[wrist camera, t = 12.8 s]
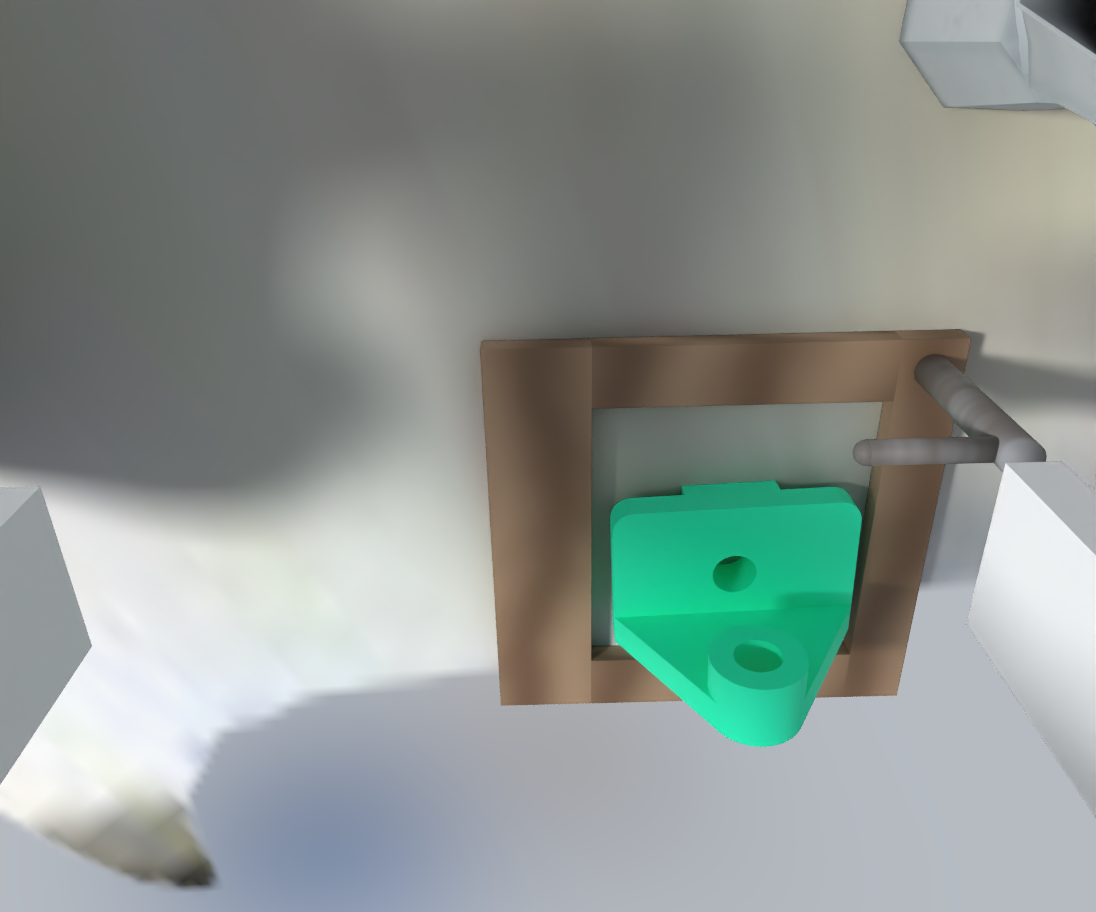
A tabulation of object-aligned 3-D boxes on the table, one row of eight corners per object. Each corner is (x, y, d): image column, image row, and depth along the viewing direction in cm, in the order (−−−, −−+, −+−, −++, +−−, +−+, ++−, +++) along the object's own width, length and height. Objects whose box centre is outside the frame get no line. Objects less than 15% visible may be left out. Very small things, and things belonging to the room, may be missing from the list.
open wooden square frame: (501, 690, 51) (495, 838, 43) (481, 340, 42) (467, 438, 33) (889, 680, 51) (963, 826, 43) (959, 329, 42) (1074, 423, 33)
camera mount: (847, 474, 45) (925, 598, 36) (833, 598, 49) (901, 739, 40) (608, 488, 46) (626, 615, 36) (611, 610, 49) (629, 753, 40)
